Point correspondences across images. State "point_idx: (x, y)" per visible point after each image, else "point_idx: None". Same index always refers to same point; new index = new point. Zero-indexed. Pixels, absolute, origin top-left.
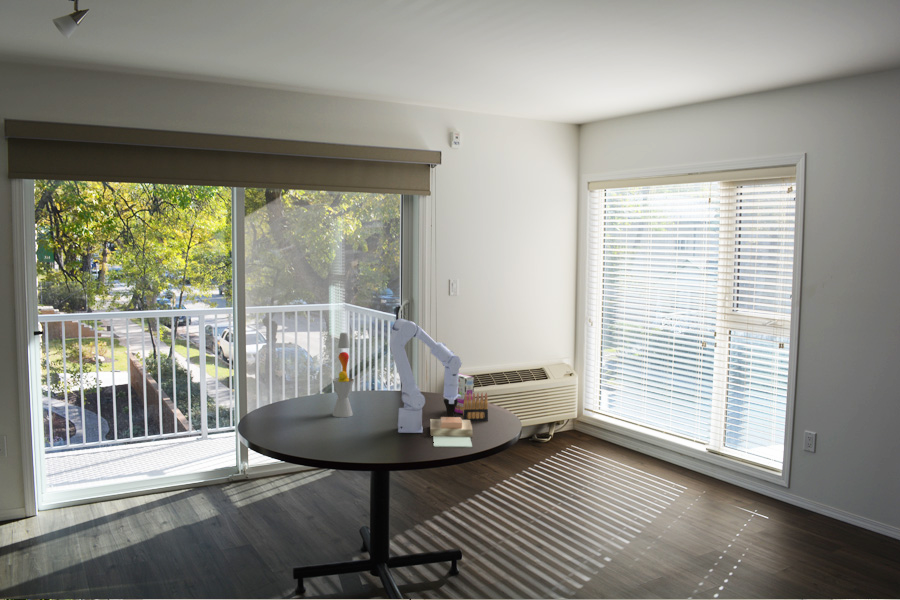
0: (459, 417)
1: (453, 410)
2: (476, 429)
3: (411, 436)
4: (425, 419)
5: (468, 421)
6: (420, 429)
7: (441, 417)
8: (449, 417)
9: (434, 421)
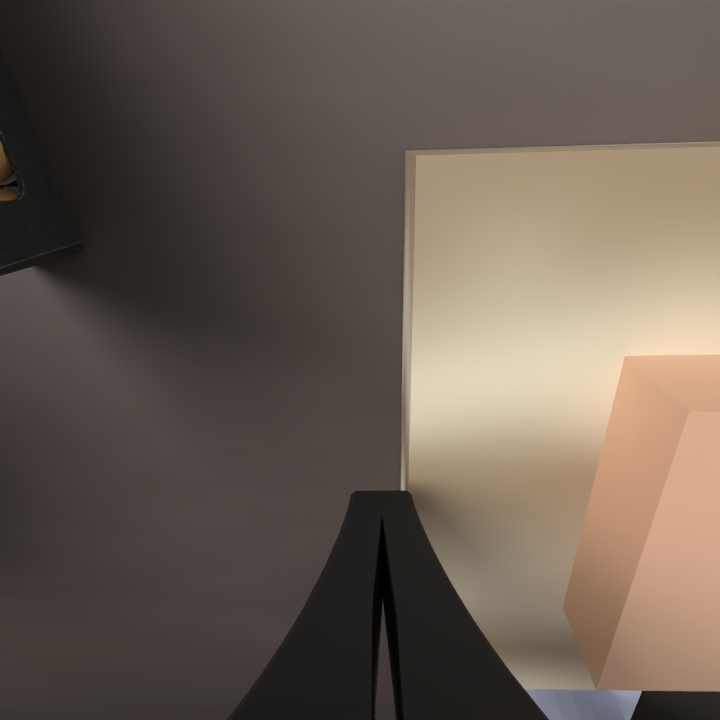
0: (704, 440)
1: (453, 610)
2: (550, 17)
3: (712, 713)
4: (140, 632)
5: (549, 197)
6: (594, 691)
7: (636, 684)
8: (658, 594)
9: (512, 658)
